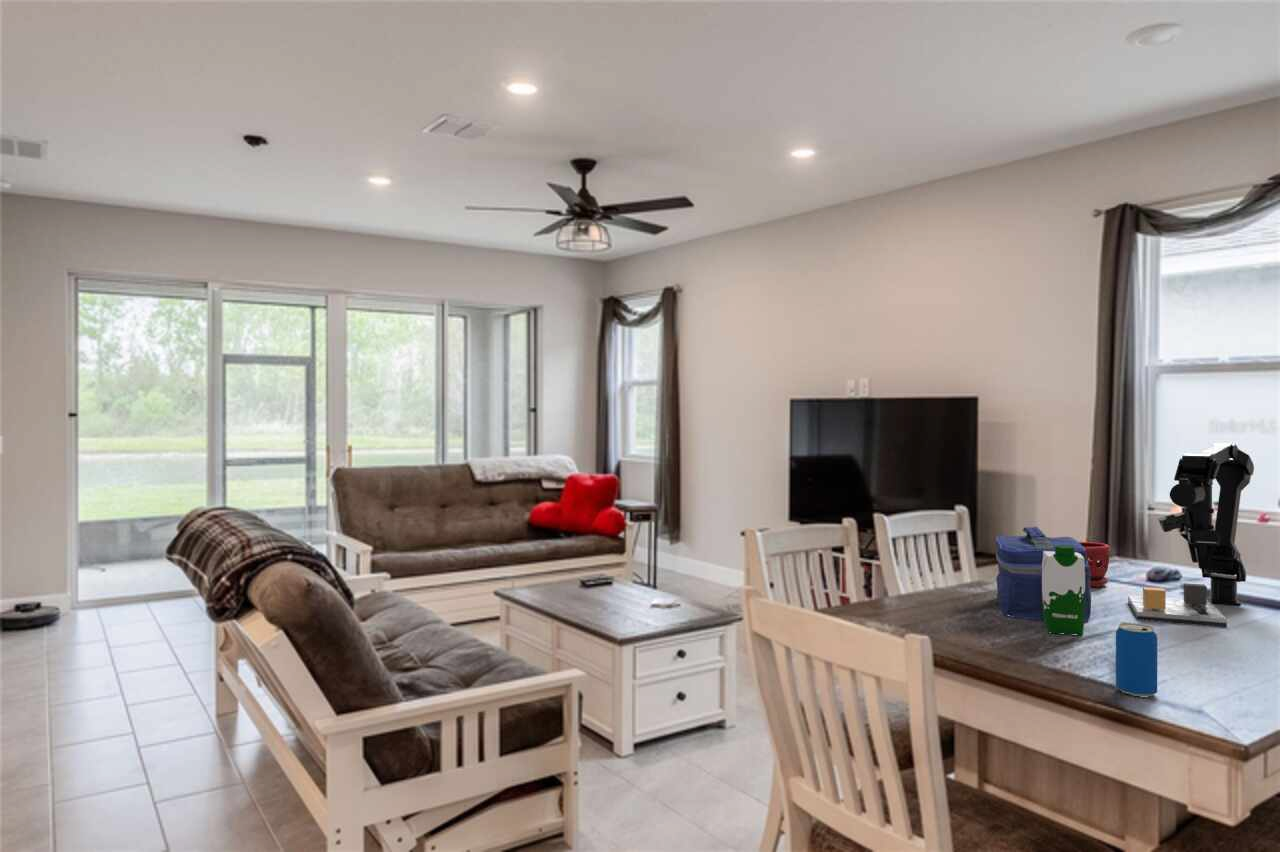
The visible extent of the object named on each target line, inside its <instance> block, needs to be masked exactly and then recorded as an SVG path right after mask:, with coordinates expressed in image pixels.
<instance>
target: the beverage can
mask: <svg viewBox="0 0 1280 852" xmlns="http://www.w3.org/2000/svg"><path fill="white" fill-rule="evenodd" d="M1134 623H1135V622H1127V623H1123V624H1121V623H1119V624H1118V628H1117V629H1116V630H1115V687H1116V689H1118V690H1121V691H1122V692H1124V693H1127V694H1131V695H1136V696H1151V695H1152V696H1154V695H1155V694H1158V635H1157V633H1156V632H1155V628H1154V627H1153V626H1150V625H1145V624H1142V623H1135V624H1134ZM1121 691H1120V692H1121ZM1122 692H1121V693H1122ZM1124 693H1123V694H1124ZM1152 696H1151V697H1152Z"/></svg>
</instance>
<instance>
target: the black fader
mask: <svg viewBox="0 0 1280 852" xmlns="http://www.w3.org/2000/svg"><path fill="white" fill-rule="evenodd" d="M1207 588H1208V587H1207V585H1205V584H1201V583H1190V582H1189V583H1187V582H1186V583H1185V582H1184V583H1183V599H1184V602H1185V603H1186V604H1192V607H1193V608H1194V609H1198V605H1207V601H1208V599H1207V593H1208V589H1207Z"/></svg>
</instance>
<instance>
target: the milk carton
mask: <svg viewBox="0 0 1280 852" xmlns="http://www.w3.org/2000/svg"><path fill="white" fill-rule="evenodd" d="M1042 610H1043V616H1044V620H1043V621H1044V623H1043V624H1044V627H1045V626H1046V627H1045V628H1047V629H1046V630H1048V631H1047V632H1048V633H1049V632H1051V633H1064V634H1063V635H1065V634H1077V635H1076V636H1079V635H1083V634H1084V627H1085V626H1084V625H1085V621H1084V619H1085V561H1084V557H1083V556H1082V555H1081V554H1079V553H1076V552H1075V548H1074V547H1073V546H1064V545H1058V546H1055V552H1052V551H1043V560H1042ZM1051 633H1050V634H1051Z"/></svg>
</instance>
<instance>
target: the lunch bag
mask: <svg viewBox="0 0 1280 852" xmlns="http://www.w3.org/2000/svg"><path fill="white" fill-rule="evenodd" d="M1022 531H1023V532H1024V533H1025V534H1026V535H1018V536H1016V535H1010V536H1009V535H999V536H997V537H996V538H995V539H996V540H995V541H996V544H995V545H996V549H997V551H996V555H995V557H996V561H997V562H998V574H997V576H996V578H995V579H996V580H995V581H996V589H997V590H996V591H997V593H996V599H997V602H998V604H999V609H1000V613H1001V612H1002V613H1003V615H1005V614H1006V615H1005V616H1007V615H1010V616H1014V617H1013V618H1018V617H1020V618H1019V619H1026V618H1028V620H1042V621H1044V616H1043V610H1042V560H1043V551H1052V552H1055V546H1058V545H1064V546H1073V547H1074V548H1075V552H1076V553H1079V554H1081V555H1082V556H1083V557H1084V561H1085V619H1084V622H1088V621H1089V620H1090V619H1091V612H1092V596H1091V595H1092V594H1091V587H1090V581H1091V574H1090V572H1089V571H1090V567H1089V564H1088V561H1087V556H1086V551H1085V548H1084V547H1083V546H1082V545H1081V544H1080V543H1078V542H1079V541H1077V539H1075V538H1074V537H1070V536H1058V537H1048V536H1046V534H1045V533H1044V532H1043V531H1042V530H1041V529H1040V528H1039V527H1038V526H1032V527H1030V526H1026V527H1023V528H1022ZM1010 616H1009V617H1010Z"/></svg>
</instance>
